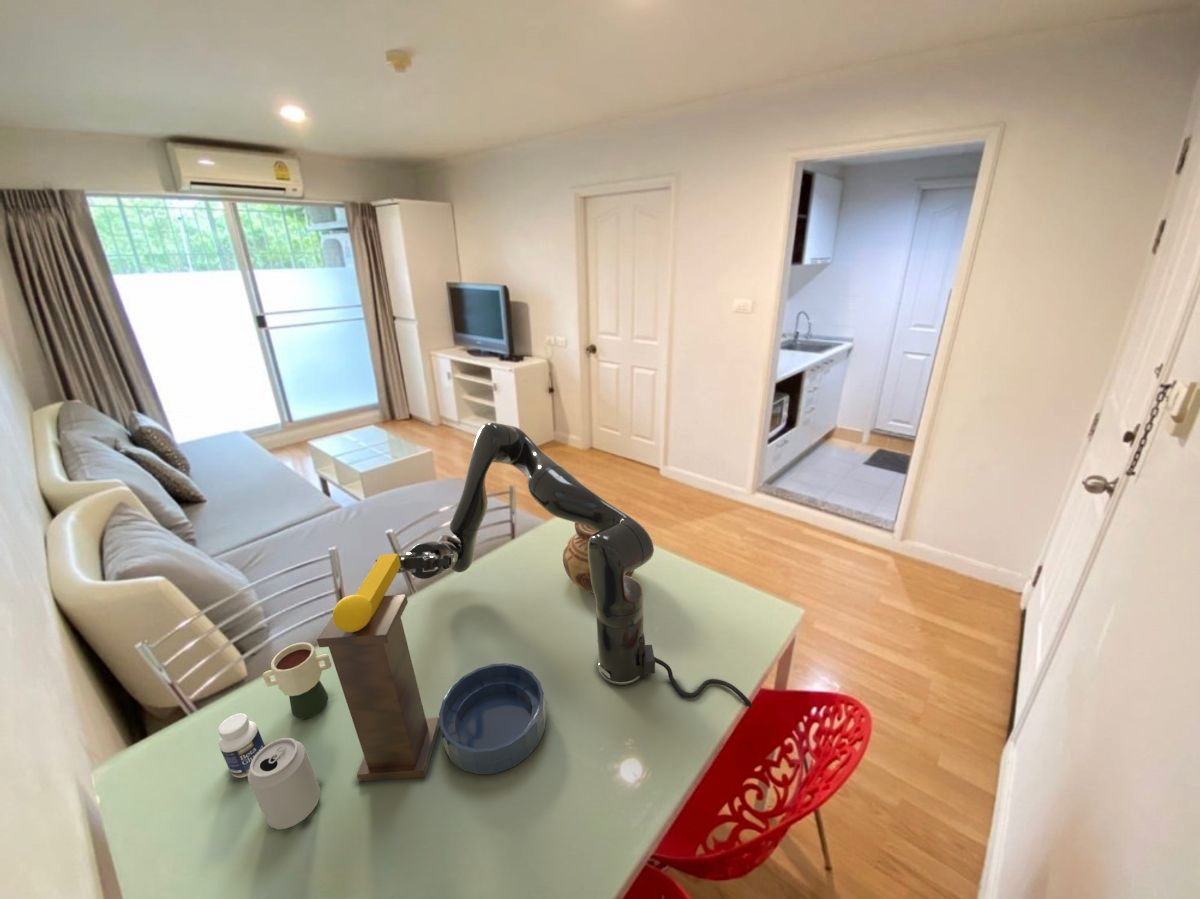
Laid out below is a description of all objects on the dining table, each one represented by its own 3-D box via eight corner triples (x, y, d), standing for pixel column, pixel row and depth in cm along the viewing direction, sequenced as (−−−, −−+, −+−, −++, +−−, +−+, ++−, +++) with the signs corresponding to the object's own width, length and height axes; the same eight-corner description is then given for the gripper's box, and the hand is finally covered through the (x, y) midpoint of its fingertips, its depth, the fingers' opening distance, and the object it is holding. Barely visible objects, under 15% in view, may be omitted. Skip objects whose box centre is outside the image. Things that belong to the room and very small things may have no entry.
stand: (440, 723, 91) (410, 592, 80) (425, 777, 82) (388, 637, 71) (381, 727, 91) (342, 596, 80) (358, 781, 82) (310, 641, 70)
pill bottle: (250, 781, 82) (231, 740, 79) (223, 776, 84) (204, 735, 80) (276, 751, 87) (259, 711, 84) (250, 746, 88) (233, 707, 85)
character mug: (343, 683, 101) (327, 634, 96) (341, 711, 95) (323, 659, 90) (282, 703, 97) (262, 652, 92) (276, 732, 91) (254, 680, 86)
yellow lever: (407, 565, 87) (401, 540, 85) (367, 638, 70) (359, 609, 68) (377, 567, 87) (371, 542, 85) (331, 641, 70) (321, 612, 68)
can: (257, 822, 76) (232, 770, 72) (300, 777, 83) (279, 726, 78) (290, 841, 74) (267, 788, 69) (332, 793, 80) (313, 741, 76)
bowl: (548, 683, 99) (546, 660, 96) (542, 772, 82) (539, 747, 80) (457, 689, 98) (453, 666, 96) (432, 780, 81) (426, 755, 79)
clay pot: (649, 593, 118) (615, 528, 111) (579, 618, 121) (542, 557, 114) (643, 547, 136) (614, 489, 129) (583, 570, 139) (550, 515, 132)
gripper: (398, 543, 107) (363, 548, 91) (463, 539, 108) (440, 543, 92) (398, 578, 106) (363, 589, 90) (464, 574, 107) (441, 584, 91)
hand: (402, 566), depth 91 cm, fingers open, 8 cm apart
